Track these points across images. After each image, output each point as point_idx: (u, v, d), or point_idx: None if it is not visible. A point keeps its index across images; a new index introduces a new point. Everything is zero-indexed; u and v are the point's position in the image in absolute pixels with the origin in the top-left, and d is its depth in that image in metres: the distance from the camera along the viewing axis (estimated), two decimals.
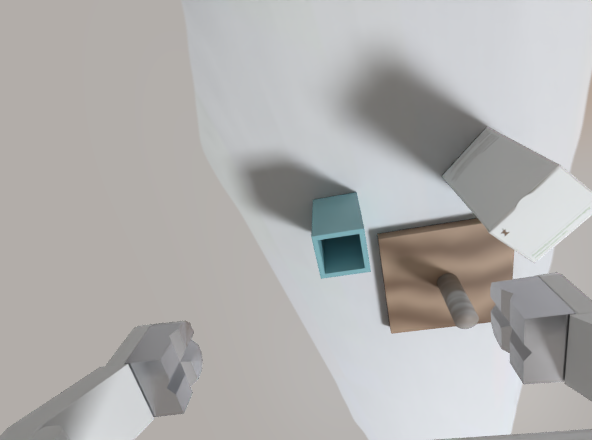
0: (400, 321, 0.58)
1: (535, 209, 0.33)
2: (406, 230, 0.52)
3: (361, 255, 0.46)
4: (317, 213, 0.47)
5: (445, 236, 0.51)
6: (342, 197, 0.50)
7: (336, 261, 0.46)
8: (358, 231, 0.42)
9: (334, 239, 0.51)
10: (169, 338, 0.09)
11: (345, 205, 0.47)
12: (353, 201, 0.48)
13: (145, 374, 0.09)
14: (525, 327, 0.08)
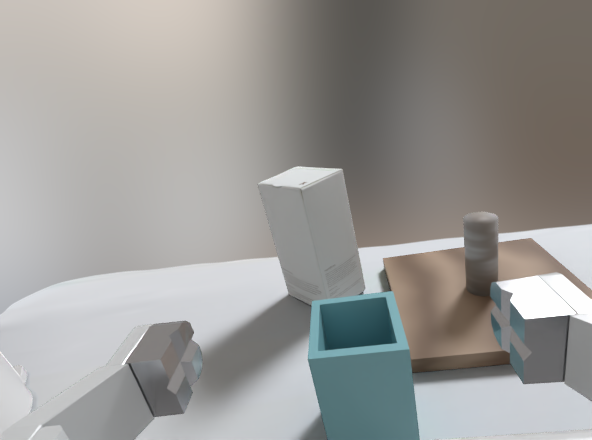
0: None
1: (287, 179, 0.40)
2: None
3: (390, 328, 0.27)
4: None
5: (405, 297, 0.40)
6: None
7: None
8: (315, 305, 0.27)
9: None
10: (169, 338, 0.09)
11: None
12: None
13: (145, 374, 0.09)
14: (525, 327, 0.08)
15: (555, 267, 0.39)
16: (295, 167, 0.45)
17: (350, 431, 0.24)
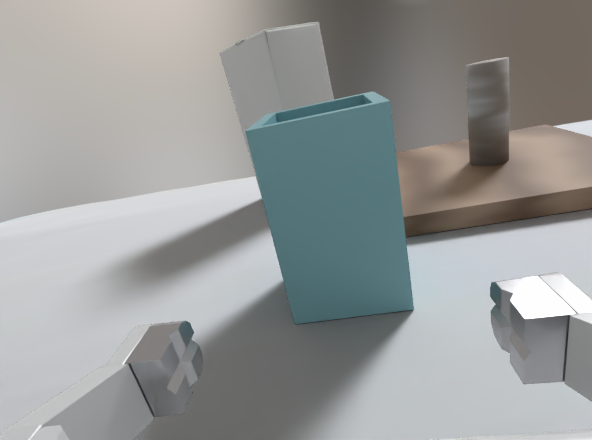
0: None
1: None
2: None
3: None
4: None
5: None
6: None
7: None
8: (269, 114, 0.20)
9: None
10: (169, 338, 0.09)
11: None
12: None
13: (145, 374, 0.09)
14: (525, 327, 0.08)
15: (577, 137, 0.32)
16: None
17: (312, 258, 0.18)
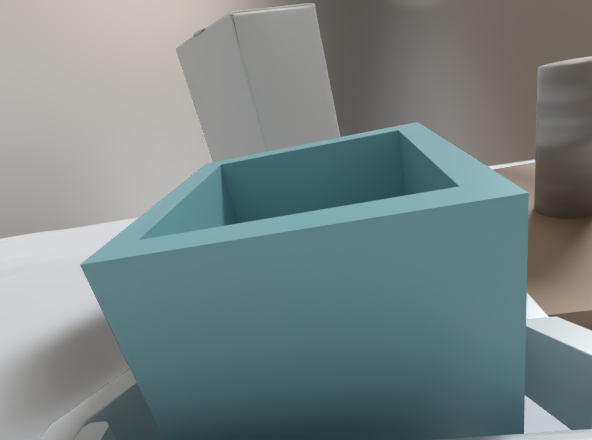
0: None
1: None
2: None
3: None
4: None
5: None
6: None
7: None
8: (209, 167, 0.10)
9: None
10: None
11: None
12: None
13: None
14: None
15: None
16: None
17: None
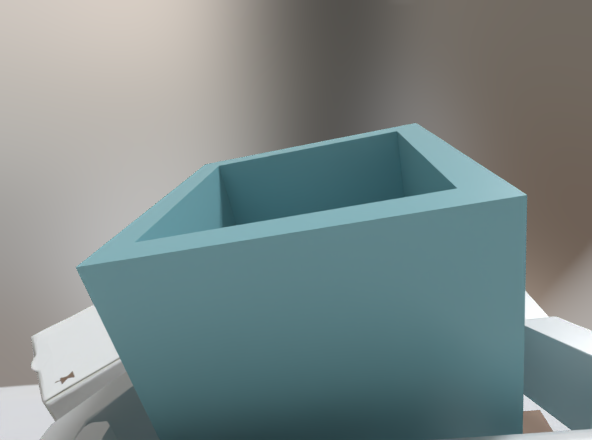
0: None
1: (66, 345, 0.20)
2: None
3: None
4: None
5: None
6: None
7: None
8: (207, 168, 0.10)
9: None
10: None
11: None
12: None
13: None
14: None
15: None
16: None
17: None
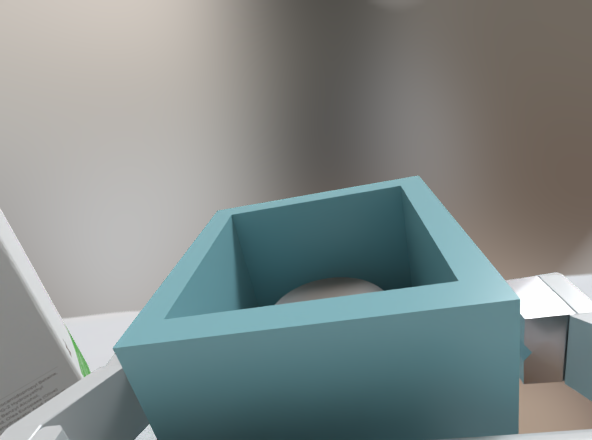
0: None
1: None
2: None
3: (411, 276, 0.11)
4: None
5: None
6: None
7: None
8: (220, 217, 0.11)
9: None
10: None
11: None
12: None
13: None
14: (525, 327, 0.08)
15: None
16: None
17: None
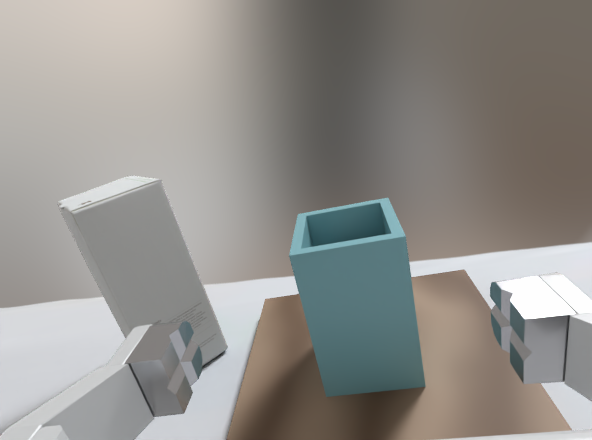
0: None
1: (84, 196, 0.27)
2: None
3: None
4: None
5: (261, 369, 0.26)
6: None
7: None
8: (301, 217, 0.24)
9: None
10: (169, 338, 0.09)
11: None
12: None
13: (145, 374, 0.09)
14: (525, 327, 0.08)
15: (485, 321, 0.26)
16: (126, 177, 0.32)
17: (341, 347, 0.21)
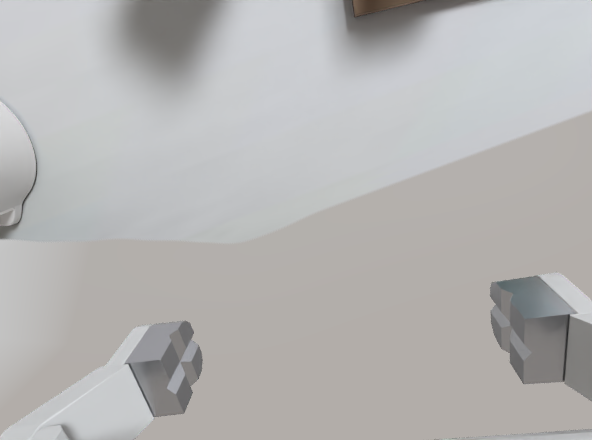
0: None
1: None
2: None
3: None
4: None
5: None
6: None
7: None
8: None
9: None
10: (169, 338, 0.09)
11: None
12: None
13: (145, 374, 0.09)
14: (525, 327, 0.08)
15: None
16: None
17: None
